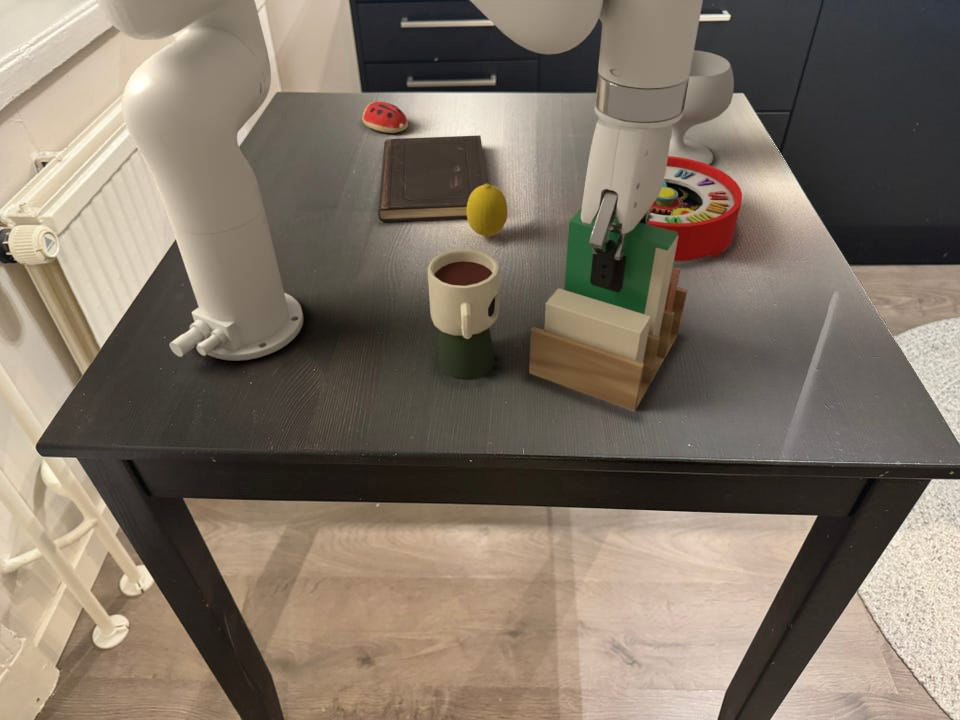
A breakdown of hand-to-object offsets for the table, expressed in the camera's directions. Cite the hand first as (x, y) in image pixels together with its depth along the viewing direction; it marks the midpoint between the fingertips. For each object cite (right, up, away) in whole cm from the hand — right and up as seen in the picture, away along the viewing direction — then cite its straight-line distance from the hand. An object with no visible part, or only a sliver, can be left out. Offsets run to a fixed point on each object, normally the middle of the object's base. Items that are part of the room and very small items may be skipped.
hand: (617, 270), depth 73 cm
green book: (0, -8, +7) cm, 11 cm away
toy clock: (+11, +10, +29) cm, 32 cm away
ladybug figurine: (-31, +33, +56) cm, 71 cm away
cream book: (-2, -11, +4) cm, 12 cm away
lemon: (-13, +8, +27) cm, 31 cm away
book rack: (0, -9, +8) cm, 12 cm away
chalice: (+18, +24, +45) cm, 54 cm away
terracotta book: (+2, -5, +10) cm, 12 cm away
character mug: (-15, -10, +7) cm, 20 cm away
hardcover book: (-21, +18, +39) cm, 48 cm away
